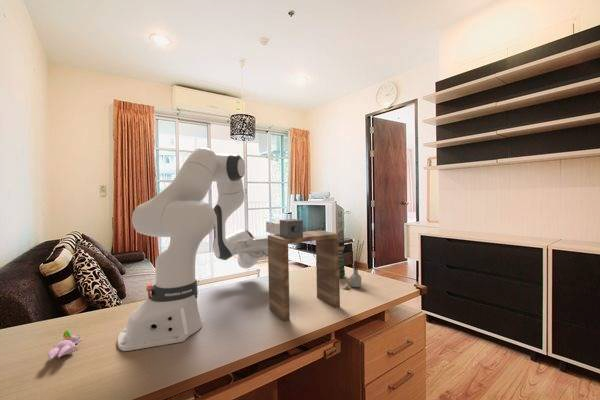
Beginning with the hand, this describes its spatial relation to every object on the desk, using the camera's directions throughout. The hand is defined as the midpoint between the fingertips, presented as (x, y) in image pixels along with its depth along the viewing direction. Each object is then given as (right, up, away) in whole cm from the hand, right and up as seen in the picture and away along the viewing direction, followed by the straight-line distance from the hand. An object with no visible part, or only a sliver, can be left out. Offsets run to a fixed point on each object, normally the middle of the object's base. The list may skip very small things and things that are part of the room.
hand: (264, 237), depth 116 cm
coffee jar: (+31, -22, +21) cm, 44 cm away
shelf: (+16, -23, -15) cm, 32 cm away
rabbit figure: (-47, -25, -42) cm, 67 cm away
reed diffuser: (+38, -22, +5) cm, 44 cm away
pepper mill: (+9, +3, -15) cm, 18 cm away
